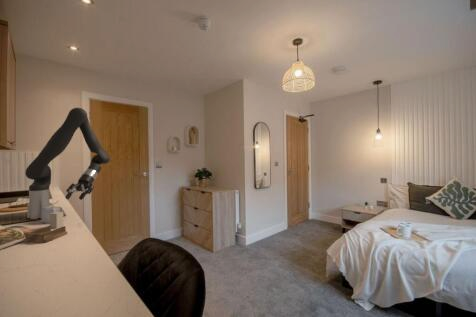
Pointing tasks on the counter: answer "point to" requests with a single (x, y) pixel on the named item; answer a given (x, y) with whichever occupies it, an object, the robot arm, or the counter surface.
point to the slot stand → (45, 234)
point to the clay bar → (56, 220)
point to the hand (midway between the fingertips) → (73, 198)
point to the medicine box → (48, 213)
